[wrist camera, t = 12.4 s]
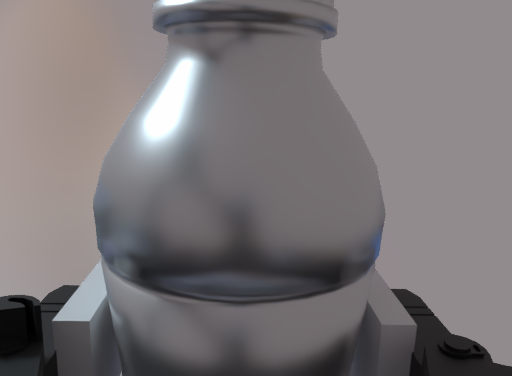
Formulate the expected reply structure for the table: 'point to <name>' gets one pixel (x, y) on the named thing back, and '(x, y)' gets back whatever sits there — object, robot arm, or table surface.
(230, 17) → the silver metal bottle
